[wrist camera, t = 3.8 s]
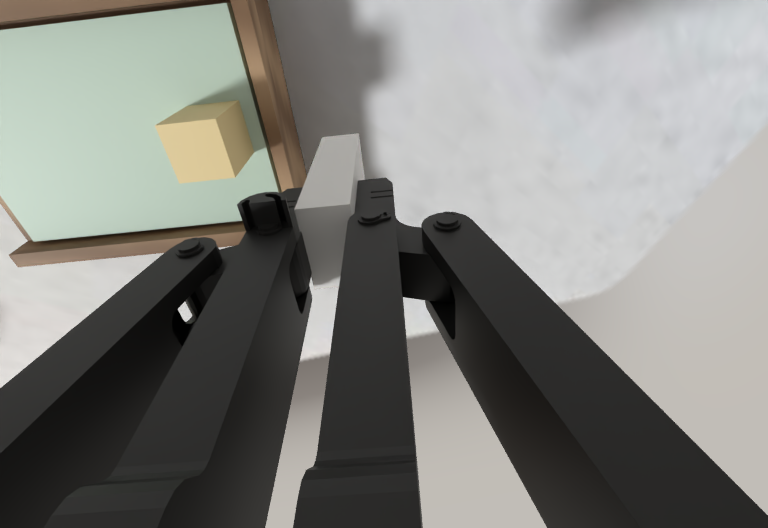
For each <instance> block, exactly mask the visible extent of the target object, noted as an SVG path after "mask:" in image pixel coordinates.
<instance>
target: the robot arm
mask: <svg viewBox="0 0 768 528" xmlns="http://www.w3.org/2000/svg"><path fill="white" fill-rule="evenodd" d="M237 207H238V210H239V212H240V215H241V218H242V221H243V224H244V227H245V230H246V232H245V234H244V236H243V238H242V240H241V242H240V243H239V245H236V246H232V247H228V248H225V249H221V250H219V249H218V246H217V244H216V241H214V240H213V239H212V238H207V237H201V238H197V237H195V238H191V239H186V240H184V241H183V242H181V243H179V244H177V245H175V246H173V247H172V248H170V249H169V250H168V251H167V252H165V253H164V254H163V255H162V256H160V257H159V258H158V259H157V260H156V261H154V262H153V263H152V264H151V265H150V266H148V267H147V268H146V269H145V270H143V271H142V272H141V273H140V274H139V275H137V276H136V277H135V278H134V279H133V280H131V281H130V282H129V283H128V284H126V285H125V286H124V287H123V288H122V289H120V290H119V291H118V292H117V293H116V294H114V295H113V296H112V297H111V298H109V299H108V300H107V301H106V302H105V303H103V304H102V305H101V306H100V307H99V308H97V309H96V310H95V311H94V312H92V313H91V314H90V315H89V316H88V317H86V318H85V319H84V320H83V321H82V322H80V323H79V324H78V325H77V326H75V327H74V328H73V329H72V330H71V331H69V332H68V333H67V334H66V335H65V336H63V337H62V338H61V339H60V340H58V341H57V342H56V343H55V344H54V345H52V346H51V347H50V348H49V349H48V350H46V351H45V352H44V353H43V354H41V355H40V356H39V357H38V358H37V359H35V360H34V361H33V362H32V363H31V364H29V365H28V366H27V367H26V368H25V369H23V370H22V371H21V372H20V373H18V374H17V375H16V376H15V377H14V378H12V379H11V380H10V381H9V382H8V383H6V384H5V385H4V386H3V387H1V388H0V528H265V525H266V521H267V516H268V511H269V506H270V501H271V496H272V492H273V487H274V482H275V477H276V472H277V467H278V463H279V458H280V453H281V448H282V443H283V438H284V434H285V429H286V424H287V419H288V414H289V409H290V405H291V400H292V395H293V390H294V385H295V380H296V375H297V371H298V365H299V361H300V356H301V351H302V346H303V342H304V337H305V332H306V327H307V322H308V317H309V313H310V308H311V303H312V295H311V291H310V287H309V283H310V278H311V277H312V281H313V285H314V289H326V288H337V287H339V291H338V298H337V306H336V314H335V321H334V329H333V336H332V344H331V352H330V359H329V368H328V374H327V382H326V390H325V398H324V405H323V412H322V420H321V428H320V435H319V443H318V451H317V456H316V461H315V464H314V466H313V467H311V468H309V469H307V470H306V472H305V474H304V476H303V479H302V482H301V486H300V490H299V495H298V501H297V507H296V513H295V520H294V525H293V528H423V527H422V514H421V503H420V491H419V480H418V468H417V457H416V445H415V433H414V422H413V413H412V412H413V410H412V399H411V387H410V376H409V365H408V353H407V341H406V329H405V318H404V306H403V297H407V298H414V299H421V300H425V303H426V307H427V310H428V311H429V313H430V315H431V317H432V319H433V320H434V322H435V324H436V326H437V328H438V330H439V331H440V333H441V335H442V337H443V339H444V340H445V342H446V344H447V346H448V348H449V350H450V351H451V353H452V355H453V357H454V359H455V360H456V362H457V364H458V366H459V368H460V370H461V371H462V373H463V375H464V377H465V378H466V381H467V382H468V384H469V386H470V388H471V390H472V391H473V393H474V395H475V397H476V399H477V401H478V402H479V404H480V406H481V408H482V410H483V412H484V413H485V415H486V417H487V419H488V421H489V422H490V424H491V426H492V428H493V430H494V431H495V433H496V435H497V437H498V438H499V441H500V442H501V444H502V446H503V448H504V449H505V452H506V453H507V455H508V457H509V459H510V461H511V463H512V464H513V466H514V468H515V470H516V472H517V473H518V475H519V477H520V479H521V481H522V482H523V484H524V486H525V488H526V490H527V492H528V493H529V495H530V497H531V499H532V501H533V503H534V504H535V506H536V508H537V510H538V512H539V513H540V515H541V517H542V519H543V521H544V523H545V524H546V526H547V528H768V515H766V513H765V512H764V511H763V510H762V509H760V508H759V506H758V505H757V504H755V502H754V501H753V500H752V499H751V498H750V497H749V496H748V495H746V493H745V492H744V491H743V490H742V489H741V488H740V487H739V486H738V485H737V484H735V482H734V481H733V480H732V479H731V478H730V477H728V475H727V474H726V473H725V472H724V471H722V469H721V468H720V467H719V466H718V465H717V464H715V462H714V461H713V460H712V459H710V457H709V456H708V455H707V454H706V453H705V452H704V451H703V450H702V449H701V448H700V447H699V446H698V445H697V444H696V443H695V442H693V440H692V439H691V438H690V437H689V436H688V435H687V434H685V432H684V431H683V430H682V429H680V428H679V426H678V425H676V424H675V422H674V421H673V420H672V419H671V418H669V416H668V415H667V414H666V413H664V411H663V410H662V409H661V408H660V407H659V406H658V405H657V404H656V403H655V402H653V400H652V399H651V398H650V397H648V395H647V394H646V393H645V392H643V390H642V389H641V388H640V387H639V386H638V385H637V384H635V382H634V381H633V380H632V379H631V378H630V377H629V376H628V375H627V374H625V373H624V371H622V369H621V368H620V367H619V366H618V365H617V364H616V363H615V362H614V361H613V360H612V359H611V358H610V357H609V356H608V355H607V354H606V353H605V352H604V351H603V350H602V349H601V348H600V347H599V346H598V345H596V343H595V342H593V340H592V339H591V338H590V337H589V336H588V335H586V333H584V331H583V330H582V329H581V328H580V327H579V326H578V325H577V324H575V322H574V321H573V320H572V319H571V318H570V317H568V316H567V315H566V313H565V312H563V310H562V309H561V308H560V307H559V306H558V305H557V304H556V303H555V302H554V301H553V300H552V299H551V298H550V297H549V296H548V295H547V294H546V293H545V292H544V291H543V290H542V289H541V288H540V287H539V286H538V285H537V284H536V283H535V282H534V281H533V280H532V279H531V278H530V277H529V276H528V275H527V274H526V273H525V272H524V271H523V270H522V269H521V268H520V267H519V266H518V265H517V264H516V263H515V262H514V261H513V260H512V259H511V258H510V257H509V256H508V255H507V254H506V253H505V252H504V251H503V250H502V249H501V248H500V247H499V246H498V245H497V244H496V243H495V242H494V241H493V240H492V239H491V238H490V237H489V236H488V235H487V234H486V233H485V232H484V231H483V230H482V229H481V228H480V227H479V226H478V225H477V224H476V223H475V222H474V221H473V220H472V219H470V218H469V217H467V216H466V215H463V214H459V213H456V212H443V213H437V214H434V215H431V216H429V217H428V218H426V219H425V220H424V221H423V223H422V228H420V227H412V226H407V225H404V224H402V223H400V222H399V221H398V220H397V219H396V216H395V207H394V196H393V185H392V182H391V181H389V180H388V179H387V178H378V179H368V180H365V176H364V168H363V161H362V153H361V146H360V138H359V133H356V134H347V135H337V136H328V137H322V139H321V142H320V144H319V147H318V149H317V152H316V155H315V157H314V160H313V162H312V165H311V168H310V170H309V173H308V175H307V178H306V181H305V183H304V186H303V187H300V188H290V189H286V190H285V191H283V192H282V193H279V192H264V193H258V194H255V195H252V196H249V197H247V198H245V199H243V200H241V201H240V202H239V203H238V204H237ZM184 302H186V304H187V306H188V307H189V309H190V311H191V313H192V315H193V316H192V317H191V318H190V320H188V321H187V322H185V321H184V320H183V319H182V317H181V315H180V313H179V311H178V308H179V307H180V306H181V305H182V304H183V303H184Z"/></svg>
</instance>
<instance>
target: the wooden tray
mask: <svg viewBox="0 0 768 528" xmlns="http://www.w3.org/2000/svg"><path fill="white" fill-rule="evenodd" d="M221 3H231V5H232V8H233V12H234V16H235V19H236V23H237V27H238V31H239V34H240V38H241V42H242V45H243V49H244V53H245V57H246V60H247V64H248V68H249V71H250V75H251V79H252V83H253V86H254V90H255V94H256V97H257V101H258V105H259V109H260V112H261V116H262V120H263V123H264V127H265V131H266V135H267V138H268V142H269V146H270V149H271V153H272V157H273V160H274V164H275V168H276V172H277V175H278V179H279V183H280V186H281V190H282V192H283V191H285V190H286V189H290V188H300V187H303V186H304V183H305V181H306V178H307V175H306V171H305V166H304V162H303V157H302V153H301V148H300V144H299V139H298V135H297V130H296V126H295V121H294V117H293V113H292V108H291V104H290V99H289V95H288V90H287V86H286V81H285V77H284V72H283V68H282V63H281V59H280V55H279V50H278V46H277V41H276V37H275V32H274V28H273V23H272V19H271V14H270V10H269V5H268V1H267V0H0V30H5V29H14V28H22V27H30V26H39V25H47V24H55V23H63V22H72V21H80V20H88V19H97V18H105V17H113V16H121V15H130V14H138V13H146V12H155V11H163V10H171V9H179V8H188V7H196V6H204V5H213V4H221ZM0 204H1V205H2V206H3V208H4V209H5V210H6V212H7V213H8V215H9V216H10V217H11V219H12V220H13V221H14V223H15V224H16V225H17V227H18V228H19V230H20V231H21V232H22V234H23V235H24V236H25V238H26V239H27V240H28V242H26V243H25V244H23V245H22V246H21V247H19V248H18V249H17V250H15V251H14V252H12V253H11V254H10V255H9V256H10V258H11V259H12V260H13V261H14V263H15V264H16V265H17V266H18V267H25V266H35V265H45V264H55V263H65V262H75V261H85V260H95V259H106V258H116V257H126V256H136V255H146V254H156V253H165V252H167V251H168V250H169V249H170V248H172V247H173V246H175V245H177V244H179V243H181V242H183V241H184V240H186V239H191V238H195V237H197V238H201V237H207V238H212V239H213V240H214V241H216V244H217V246H218V247H227V246H236V245H239V243H240V242H241V240H242V238H243V236H244V234H245V232H246V230H245V227H244V224H243V221H235V222H225V223H215V224H205V225H195V226H185V227H175V228H166V229H156V230H146V231H136V232H126V233H116V234H106V235H97V236H87V237H77V238H67V239H57V240H47V241H37V242H33V240H32V239H31V237H30V236H29V235H28V233H27V232H26V231H25V229H24V228H23V226H22V225H21V224H20V222H19V221H18V220H17V218H16V217H15V215H14V214H13V213H12V211H11V210H10V209H9V207H8V206H7V204H6V203H5V202H4V200H3V199H2V197H1V196H0Z"/></svg>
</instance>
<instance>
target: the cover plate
mask: <svg viewBox="0 0 768 528" xmlns="http://www.w3.org/2000/svg"><path fill="white" fill-rule="evenodd" d="M264 192H279V193H282V190H281V186H280V183H279V179H278V175H277V172H276V168H275V164H274V160H273V157H272V153H271V149H270V146H269V142H268V138H267V135H266V131H265V127H264V123H263V120H262V116H261V112H260V109H259V105H258V101H257V97H256V94H255V90H254V86H253V83H252V79H251V75H250V71H249V68H248V64H247V60H246V57H245V53H244V49H243V45H242V42H241V38H240V34H239V31H238V27H237V23H236V19H235V16H234V12H233V8H232V5H231V3H221V4H213V5H204V6H196V7H188V8H179V9H171V10H163V11H155V12H146V13H138V14H130V15H121V16H113V17H105V18H97V19H88V20H80V21H72V22H63V23H55V24H47V25H39V26H30V27H22V28H14V29H5V30H0V196H1V197H2V199H3V200H4V202H5V203H6V204H7V206H8V207H9V209H10V210H11V211H12V213H13V214H14V215H15V217H16V218H17V220H18V221H19V222H20V224H21V225H22V226H23V228H24V229H25V231H26V232H27V233H28V235H29V236H30V237H31V239H32V240H33V242H37V241H47V240H57V239H67V238H77V237H87V236H97V235H106V234H116V233H126V232H136V231H146V230H156V229H166V228H175V227H185V226H195V225H205V224H215V223H225V222H235V221H242V218H241V215H240V212H239V210H238V207H237V204H238V203H239V202H240V201H241V200H243V199H245V198H247V197H249V196H252V195H255V194H258V193H264Z"/></svg>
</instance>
